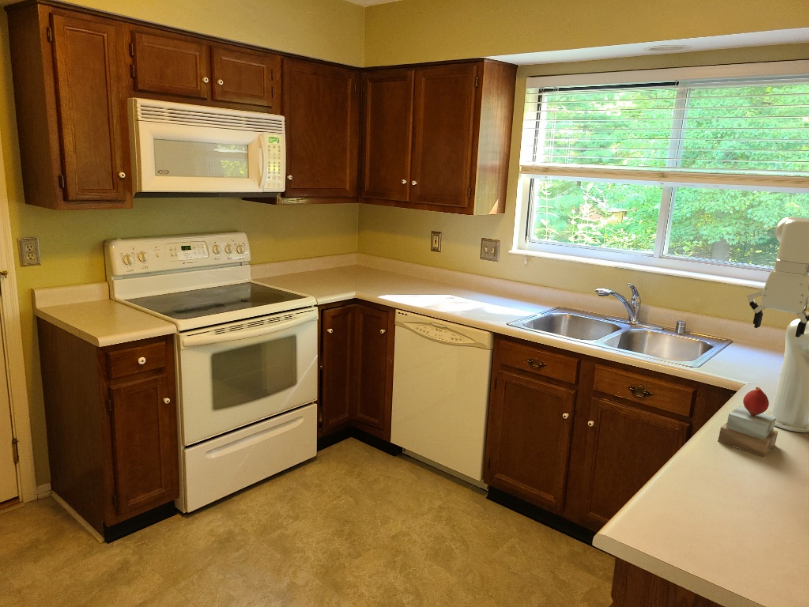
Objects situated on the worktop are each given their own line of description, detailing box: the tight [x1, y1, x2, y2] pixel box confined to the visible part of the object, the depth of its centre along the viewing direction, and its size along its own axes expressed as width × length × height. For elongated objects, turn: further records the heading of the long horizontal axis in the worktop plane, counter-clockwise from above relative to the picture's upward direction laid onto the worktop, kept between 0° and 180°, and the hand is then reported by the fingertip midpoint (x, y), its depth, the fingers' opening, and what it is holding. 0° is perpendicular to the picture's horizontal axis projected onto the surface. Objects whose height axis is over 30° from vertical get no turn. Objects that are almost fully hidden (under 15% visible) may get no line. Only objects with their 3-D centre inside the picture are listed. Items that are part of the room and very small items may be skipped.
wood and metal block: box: [717, 405, 779, 458], centre depth 162 cm, size 11×11×8 cm
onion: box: [742, 386, 770, 416], centre depth 160 cm, size 6×6×8 cm
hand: (777, 331), depth 160 cm, fingers open, 9 cm apart
